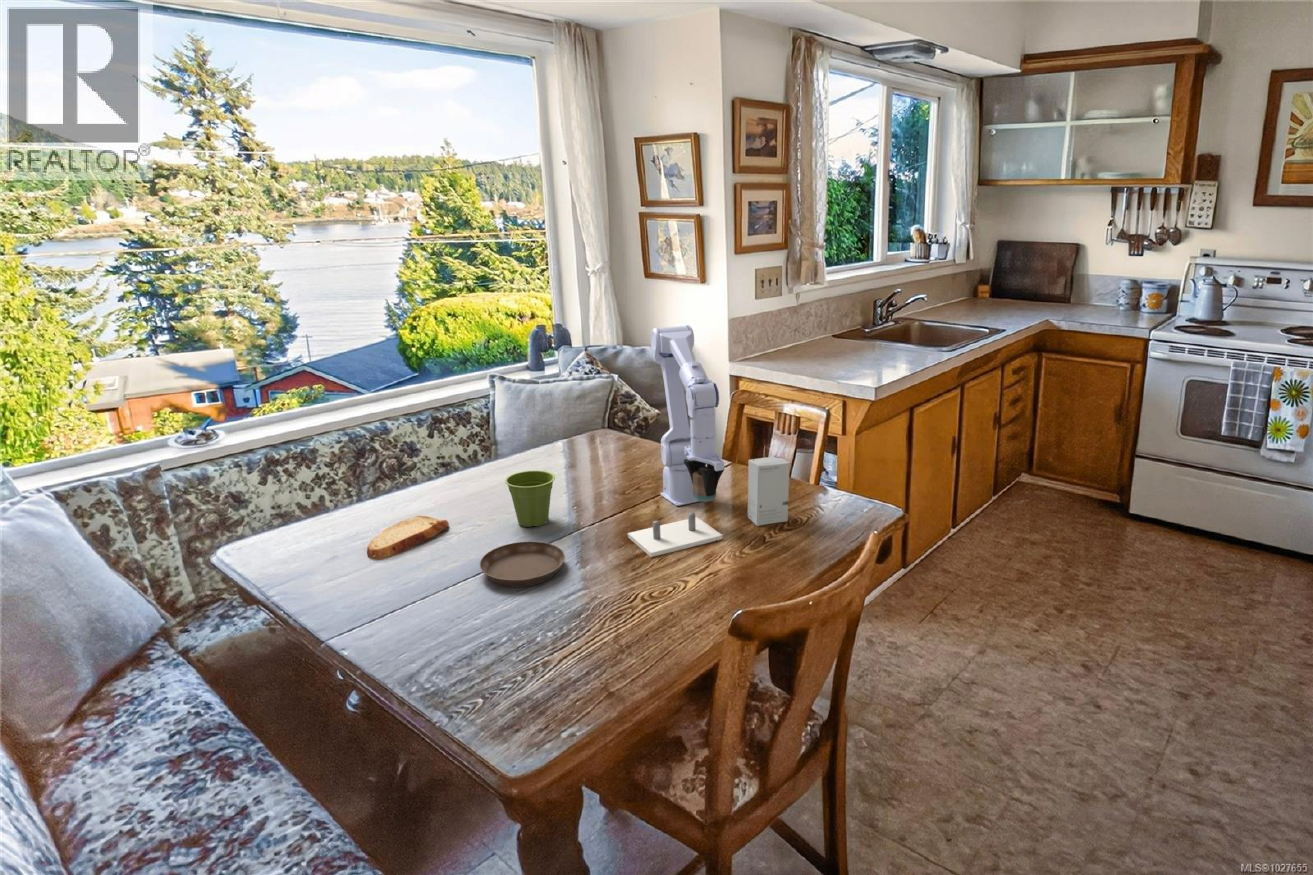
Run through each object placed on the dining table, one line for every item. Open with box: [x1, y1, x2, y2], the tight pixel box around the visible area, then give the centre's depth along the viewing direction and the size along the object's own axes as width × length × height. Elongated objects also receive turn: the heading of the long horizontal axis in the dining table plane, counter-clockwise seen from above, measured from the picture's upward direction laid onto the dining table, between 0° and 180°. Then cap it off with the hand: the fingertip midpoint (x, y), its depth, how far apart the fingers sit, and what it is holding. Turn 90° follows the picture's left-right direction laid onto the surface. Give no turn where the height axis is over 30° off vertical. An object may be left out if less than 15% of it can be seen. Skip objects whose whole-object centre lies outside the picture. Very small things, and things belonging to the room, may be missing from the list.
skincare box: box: [747, 456, 790, 527], centre depth 183 cm, size 8×6×15 cm
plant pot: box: [504, 469, 556, 528], centre depth 187 cm, size 12×12×11 cm
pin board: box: [627, 511, 724, 558], centre depth 176 cm, size 12×18×5 cm, turn 116°
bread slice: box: [366, 515, 450, 561], centre depth 181 cm, size 18×18×4 cm
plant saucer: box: [479, 540, 566, 588], centre depth 164 cm, size 18×18×3 cm
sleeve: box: [693, 470, 717, 503], centre depth 180 cm, size 5×5×6 cm
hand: (704, 491), depth 181 cm, fingers closed on sleeve, 5 cm apart
